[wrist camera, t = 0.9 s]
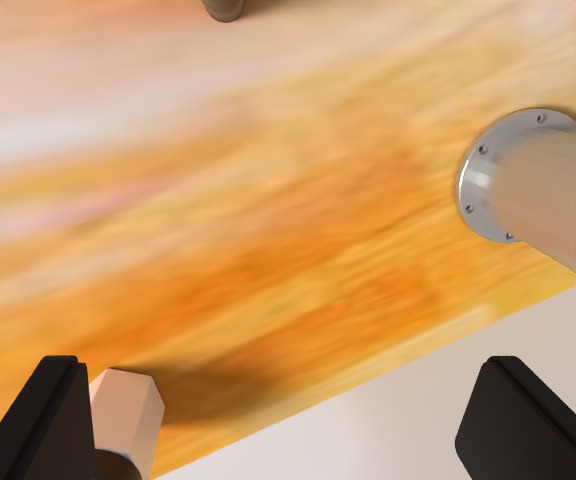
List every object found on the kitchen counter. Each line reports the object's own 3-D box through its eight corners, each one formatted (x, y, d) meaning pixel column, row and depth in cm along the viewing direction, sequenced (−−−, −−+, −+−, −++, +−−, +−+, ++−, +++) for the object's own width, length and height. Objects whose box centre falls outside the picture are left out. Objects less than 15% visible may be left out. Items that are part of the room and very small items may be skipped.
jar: (74, 420, 43) (16, 539, 32) (85, 361, 40) (26, 469, 29) (157, 432, 45) (130, 549, 34) (173, 377, 42) (149, 484, 31)
